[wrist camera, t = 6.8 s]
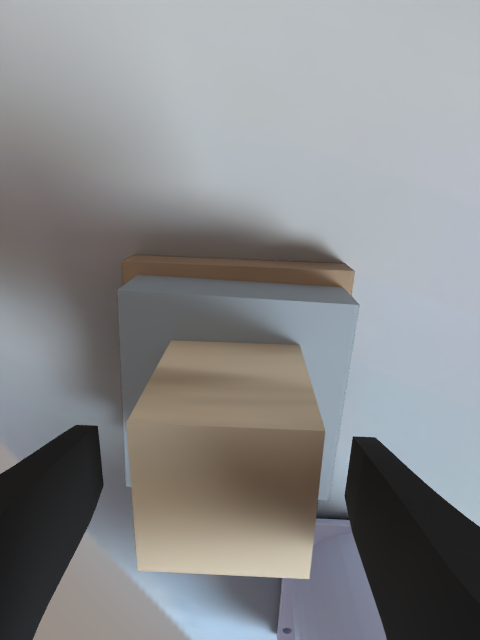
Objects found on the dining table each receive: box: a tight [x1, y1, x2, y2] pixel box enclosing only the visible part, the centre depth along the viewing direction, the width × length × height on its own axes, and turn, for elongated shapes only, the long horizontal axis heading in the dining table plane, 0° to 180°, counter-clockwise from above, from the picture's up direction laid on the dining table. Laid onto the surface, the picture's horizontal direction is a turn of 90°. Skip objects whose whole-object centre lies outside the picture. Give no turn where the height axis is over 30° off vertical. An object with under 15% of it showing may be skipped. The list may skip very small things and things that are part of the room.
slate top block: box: [117, 275, 359, 501], centre depth 15 cm, size 8×8×2 cm
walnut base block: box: [122, 255, 355, 296], centre depth 18 cm, size 9×9×2 cm
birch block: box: [126, 340, 325, 579], centre depth 12 cm, size 4×4×5 cm
